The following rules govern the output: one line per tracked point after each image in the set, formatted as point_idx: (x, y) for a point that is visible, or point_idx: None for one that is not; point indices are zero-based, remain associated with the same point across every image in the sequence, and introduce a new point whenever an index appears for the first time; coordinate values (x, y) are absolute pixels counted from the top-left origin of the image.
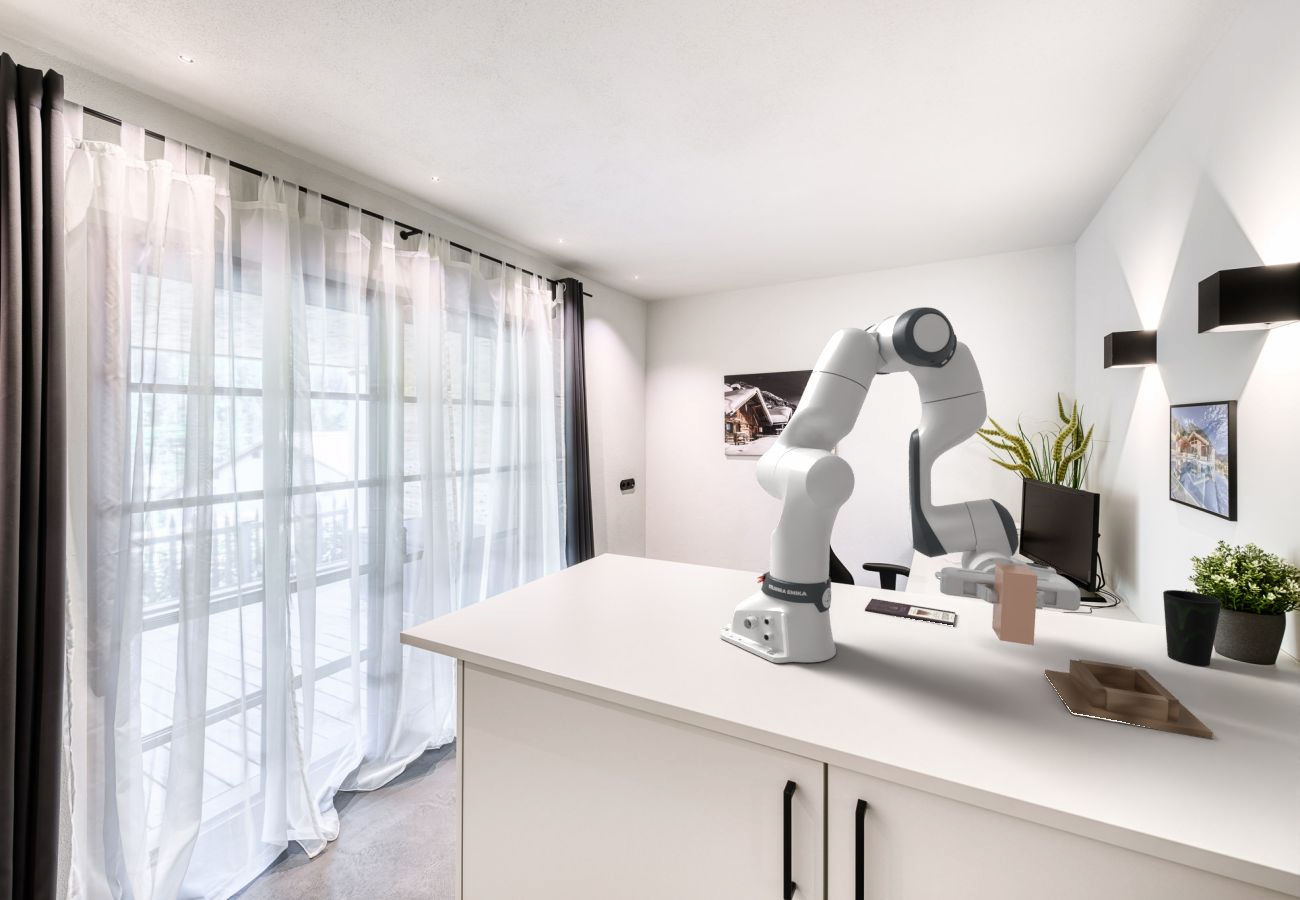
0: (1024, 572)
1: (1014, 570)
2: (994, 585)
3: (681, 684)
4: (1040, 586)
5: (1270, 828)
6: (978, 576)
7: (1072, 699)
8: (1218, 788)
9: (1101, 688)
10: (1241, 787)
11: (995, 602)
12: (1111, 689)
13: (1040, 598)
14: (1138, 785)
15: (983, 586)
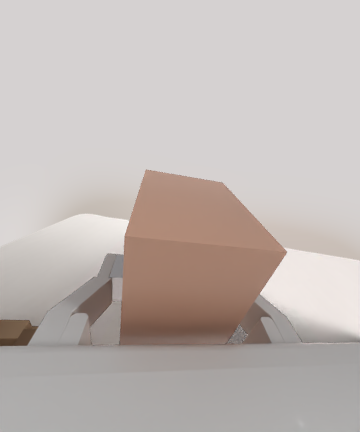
0: (172, 181)
1: (198, 190)
2: (238, 321)
3: (355, 273)
4: (26, 350)
5: (59, 226)
6: (351, 410)
7: None
8: (49, 247)
9: (28, 330)
10: (25, 251)
11: None
12: (10, 332)
13: (113, 254)
14: (107, 241)
15: (264, 305)
